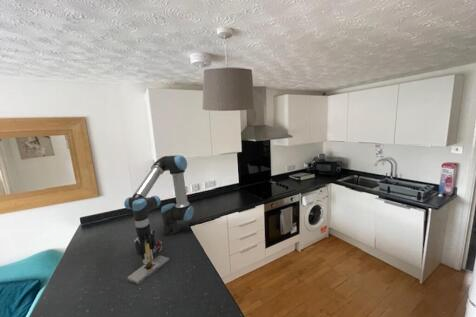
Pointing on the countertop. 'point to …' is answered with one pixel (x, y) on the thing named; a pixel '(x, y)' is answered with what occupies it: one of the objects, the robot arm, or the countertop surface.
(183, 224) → the countertop surface
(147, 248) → the pin
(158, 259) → the lower link
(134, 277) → the light grey flat block
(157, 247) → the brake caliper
